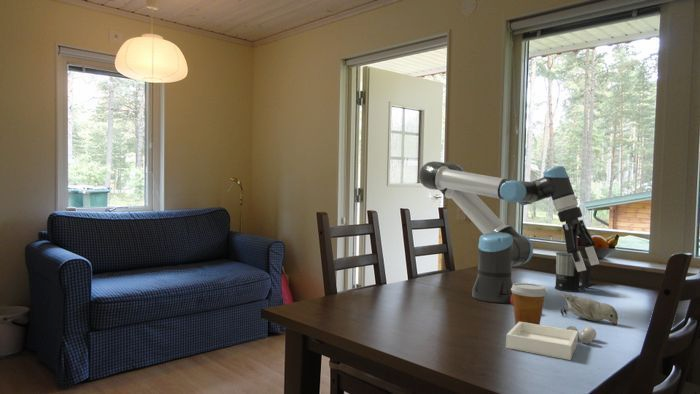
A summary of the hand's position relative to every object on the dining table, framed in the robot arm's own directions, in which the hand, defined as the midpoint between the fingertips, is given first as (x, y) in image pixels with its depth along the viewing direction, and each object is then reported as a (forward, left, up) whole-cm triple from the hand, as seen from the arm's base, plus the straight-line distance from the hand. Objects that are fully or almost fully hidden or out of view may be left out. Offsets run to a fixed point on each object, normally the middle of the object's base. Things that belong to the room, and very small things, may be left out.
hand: (588, 267), depth 166 cm
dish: (-5, -56, -13) cm, 58 cm away
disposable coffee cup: (-12, -41, -14) cm, 45 cm away
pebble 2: (+4, -47, -13) cm, 49 cm away
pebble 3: (+4, -43, -13) cm, 45 cm away
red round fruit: (-18, -22, -14) cm, 32 cm away
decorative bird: (+2, -20, -14) cm, 25 cm away
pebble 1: (0, -44, -13) cm, 46 cm away
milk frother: (-7, +31, -14) cm, 34 cm away
